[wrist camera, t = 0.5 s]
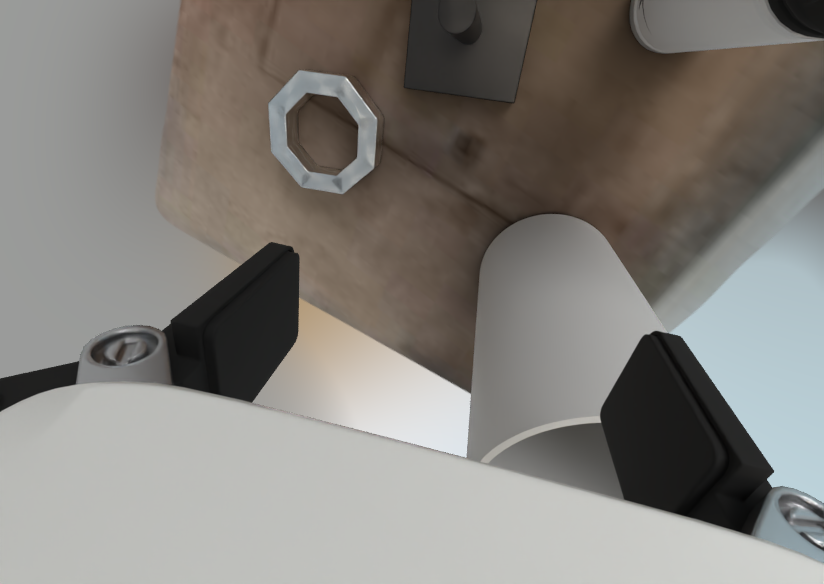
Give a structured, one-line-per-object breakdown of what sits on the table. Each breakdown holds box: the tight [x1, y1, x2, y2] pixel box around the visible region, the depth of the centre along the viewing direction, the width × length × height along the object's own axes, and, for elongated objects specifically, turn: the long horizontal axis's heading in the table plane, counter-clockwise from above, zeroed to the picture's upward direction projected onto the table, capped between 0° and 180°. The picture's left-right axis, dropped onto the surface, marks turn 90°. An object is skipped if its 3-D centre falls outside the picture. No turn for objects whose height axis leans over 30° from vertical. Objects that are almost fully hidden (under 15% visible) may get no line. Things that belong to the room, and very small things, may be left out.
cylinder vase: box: [467, 214, 667, 500], centre depth 29 cm, size 12×12×25 cm
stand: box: [404, 0, 537, 103], centre depth 26 cm, size 9×9×12 cm
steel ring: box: [268, 70, 384, 194], centre depth 35 cm, size 10×10×2 cm
